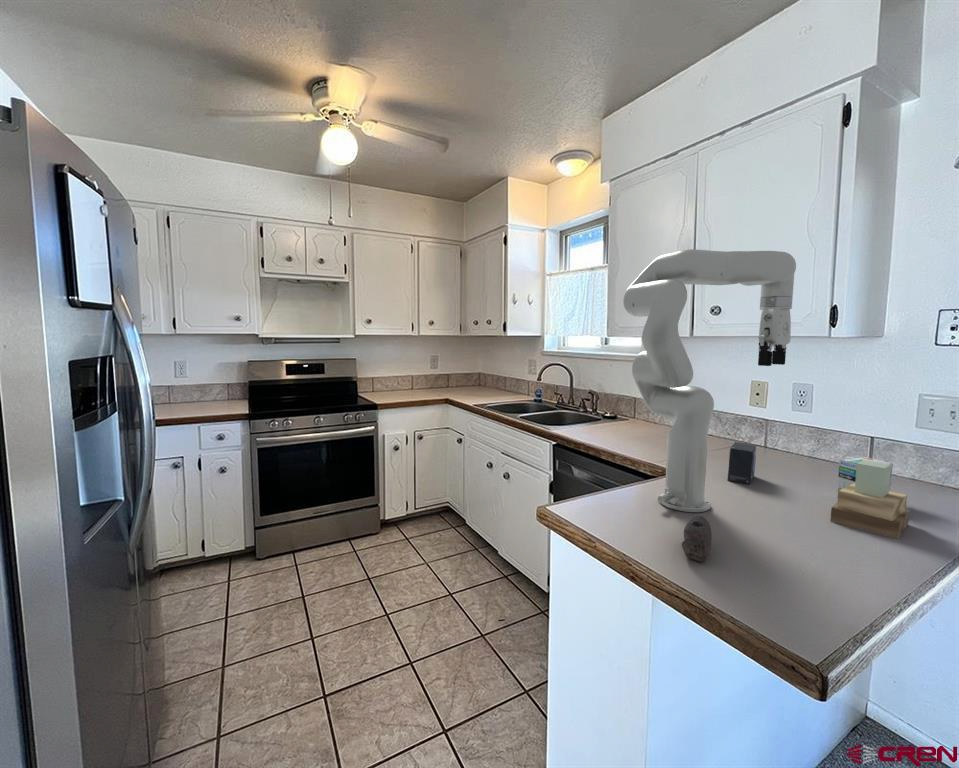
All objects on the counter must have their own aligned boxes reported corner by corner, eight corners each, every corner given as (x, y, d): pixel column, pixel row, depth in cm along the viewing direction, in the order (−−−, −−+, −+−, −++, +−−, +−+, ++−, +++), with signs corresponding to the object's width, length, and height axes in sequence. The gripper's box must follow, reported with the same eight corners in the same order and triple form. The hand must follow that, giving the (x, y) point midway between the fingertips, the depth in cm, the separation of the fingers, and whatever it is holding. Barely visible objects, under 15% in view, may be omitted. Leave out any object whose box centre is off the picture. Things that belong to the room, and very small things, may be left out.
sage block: (882, 498, 101) (884, 468, 101) (854, 492, 105) (856, 463, 105) (888, 493, 104) (891, 464, 103) (861, 487, 108) (863, 459, 108)
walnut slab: (897, 541, 97) (899, 523, 97) (830, 523, 107) (831, 507, 106) (907, 526, 105) (909, 510, 104) (843, 511, 114) (844, 496, 114)
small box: (751, 485, 133) (753, 451, 132) (726, 481, 137) (728, 447, 136) (755, 476, 141) (757, 444, 140) (732, 472, 145) (733, 441, 144)
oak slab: (891, 521, 98) (893, 503, 98) (837, 506, 107) (838, 490, 106) (905, 511, 104) (907, 494, 103) (852, 498, 112) (853, 482, 112)
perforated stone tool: (688, 534, 100) (690, 504, 99) (714, 540, 97) (716, 509, 96) (678, 562, 87) (679, 529, 87) (707, 570, 85) (709, 535, 84)
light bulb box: (861, 506, 116) (865, 466, 115) (834, 497, 123) (838, 459, 122) (890, 501, 119) (894, 462, 118) (863, 493, 126) (866, 456, 125)
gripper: (779, 301, 116) (774, 367, 118) (802, 304, 126) (798, 364, 128) (748, 303, 122) (744, 365, 124) (772, 306, 132) (769, 363, 134)
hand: (771, 365), depth 126 cm, fingers open, 9 cm apart
